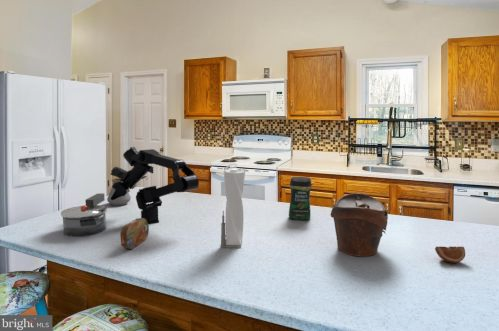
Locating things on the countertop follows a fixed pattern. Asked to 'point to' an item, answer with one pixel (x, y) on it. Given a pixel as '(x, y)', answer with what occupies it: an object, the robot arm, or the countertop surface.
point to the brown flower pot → (359, 224)
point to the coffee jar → (300, 198)
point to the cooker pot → (84, 226)
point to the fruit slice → (451, 253)
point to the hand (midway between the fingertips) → (111, 199)
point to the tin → (134, 233)
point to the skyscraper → (233, 209)
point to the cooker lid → (86, 208)
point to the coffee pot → (120, 200)
